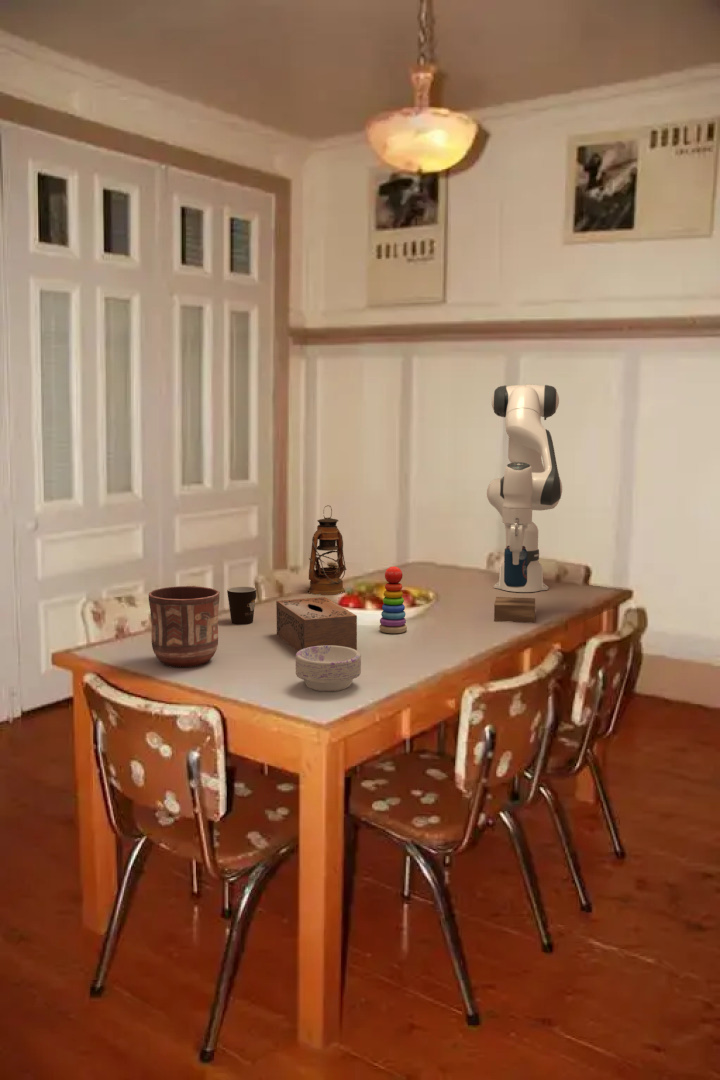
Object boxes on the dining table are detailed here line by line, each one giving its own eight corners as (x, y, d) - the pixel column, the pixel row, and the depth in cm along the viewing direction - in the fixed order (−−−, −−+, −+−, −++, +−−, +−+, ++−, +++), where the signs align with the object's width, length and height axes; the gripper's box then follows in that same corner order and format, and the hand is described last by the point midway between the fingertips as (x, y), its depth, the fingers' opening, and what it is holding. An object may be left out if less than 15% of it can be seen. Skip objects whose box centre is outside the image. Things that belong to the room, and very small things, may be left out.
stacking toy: (411, 633, 278) (412, 568, 276) (385, 635, 275) (386, 570, 273) (400, 626, 286) (400, 563, 283) (375, 629, 283) (375, 565, 280)
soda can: (529, 587, 293) (529, 548, 292) (506, 588, 293) (506, 548, 291) (524, 583, 300) (524, 544, 298) (502, 583, 300) (502, 545, 298)
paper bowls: (346, 699, 218) (346, 664, 216) (284, 691, 223) (284, 657, 222) (370, 680, 232) (370, 648, 230) (312, 674, 237) (311, 642, 236)
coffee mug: (237, 626, 285) (237, 593, 284) (222, 621, 292) (221, 589, 291) (270, 621, 293) (270, 588, 291) (254, 616, 299) (254, 584, 298)
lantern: (330, 585, 349) (330, 502, 344) (356, 590, 340) (356, 504, 335) (295, 592, 336) (294, 505, 332) (322, 597, 328) (321, 508, 323)
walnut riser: (495, 612, 305) (496, 596, 304) (534, 614, 303) (535, 598, 302) (494, 621, 293) (494, 604, 292) (534, 622, 291) (535, 606, 290)
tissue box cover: (276, 635, 277) (276, 600, 275) (324, 631, 282) (324, 597, 280) (304, 657, 253) (304, 620, 251) (356, 652, 258) (356, 615, 257)
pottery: (152, 673, 237) (151, 600, 235) (147, 655, 254) (145, 587, 251) (225, 668, 242) (224, 597, 240) (215, 651, 259) (214, 584, 256)
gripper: (527, 521, 283) (526, 568, 285) (528, 513, 303) (527, 557, 305) (505, 520, 284) (504, 567, 286) (507, 512, 304) (506, 556, 306)
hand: (516, 562), depth 295 cm, fingers closed on soda can, 7 cm apart
